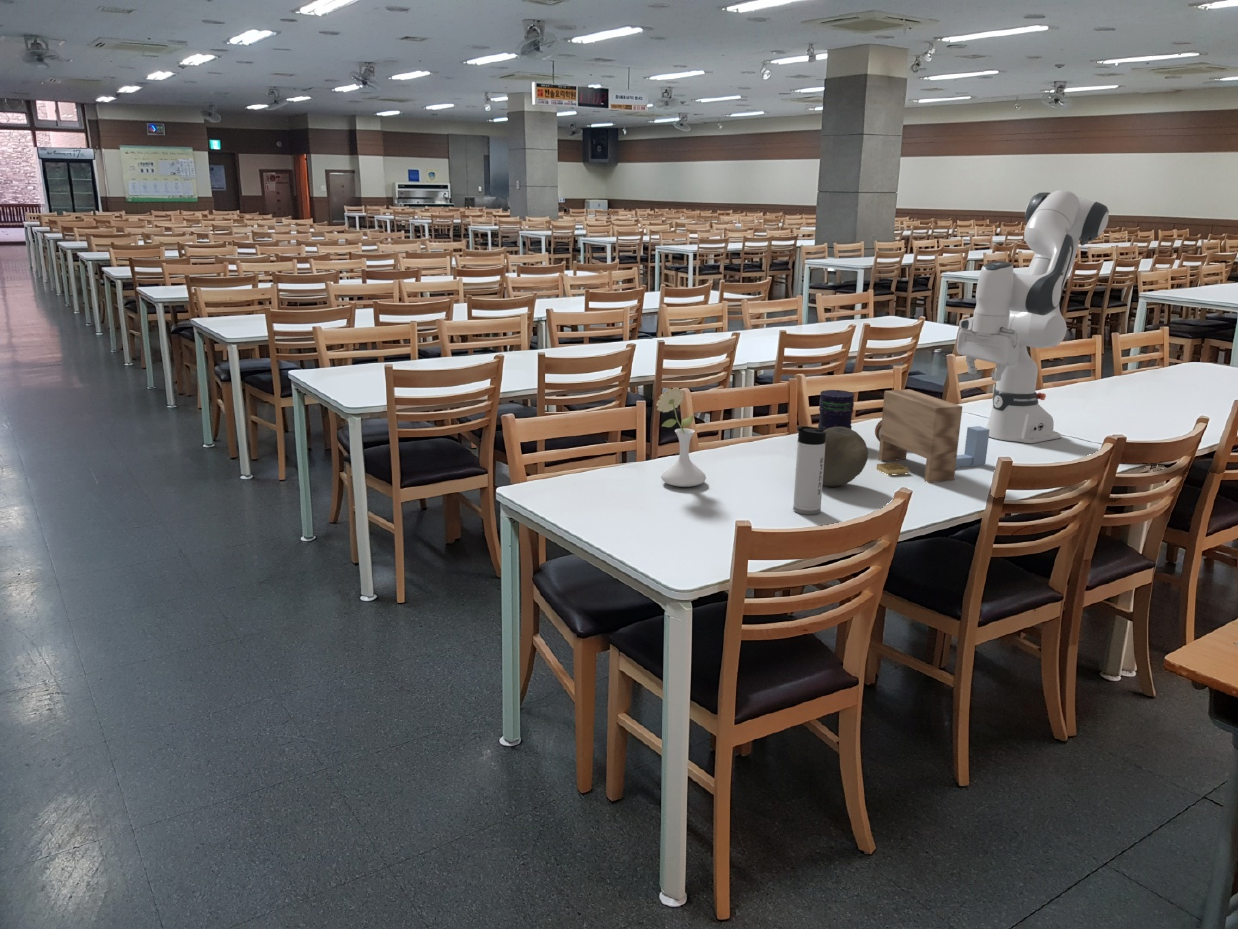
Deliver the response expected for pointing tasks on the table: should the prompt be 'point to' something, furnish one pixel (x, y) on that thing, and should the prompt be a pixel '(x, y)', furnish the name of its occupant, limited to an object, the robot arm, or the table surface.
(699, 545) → the table surface
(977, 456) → the blue l-shaped bracket
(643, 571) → the table surface
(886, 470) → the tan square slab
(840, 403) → the storage jar
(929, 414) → the wooden bridge block
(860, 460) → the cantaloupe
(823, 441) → the travel mug
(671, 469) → the flower in vase
